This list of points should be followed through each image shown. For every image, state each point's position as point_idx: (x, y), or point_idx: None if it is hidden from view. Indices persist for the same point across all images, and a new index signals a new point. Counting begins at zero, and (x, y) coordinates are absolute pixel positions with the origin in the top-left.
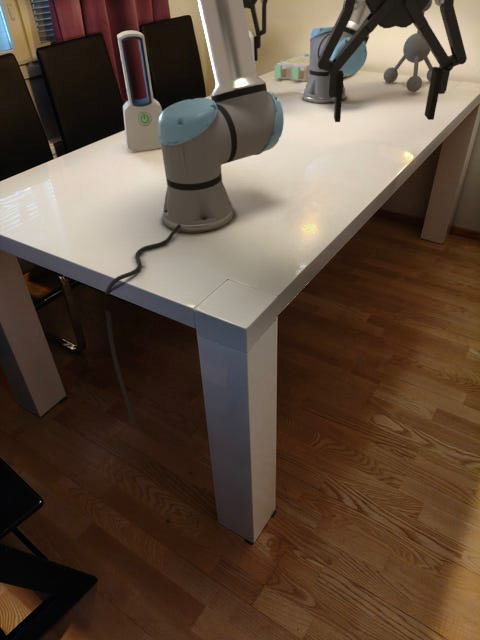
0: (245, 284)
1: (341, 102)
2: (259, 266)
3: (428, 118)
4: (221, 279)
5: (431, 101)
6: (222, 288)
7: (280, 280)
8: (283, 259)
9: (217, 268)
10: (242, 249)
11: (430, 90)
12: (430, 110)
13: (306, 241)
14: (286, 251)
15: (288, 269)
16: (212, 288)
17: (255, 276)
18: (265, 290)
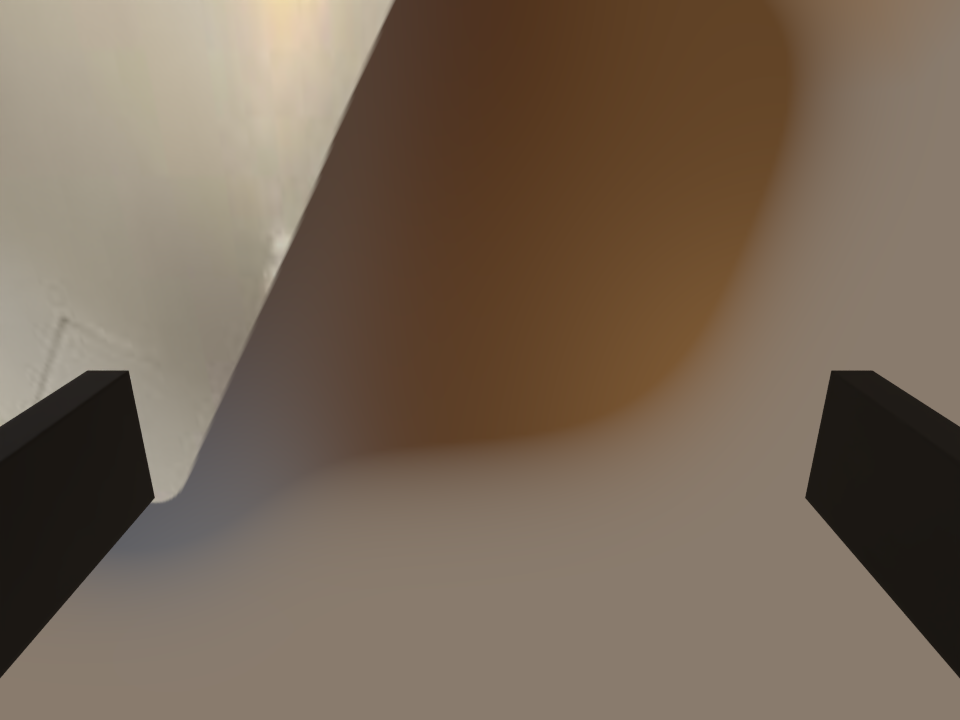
0: (124, 345)
1: (70, 594)
2: (142, 245)
3: (809, 500)
4: (44, 320)
5: (879, 578)
6: (63, 365)
7: (223, 323)
8: (213, 199)
9: (8, 258)
10: (51, 127)
11: (954, 534)
12: (843, 535)
13: (280, 62)
14: (215, 142)
15: (238, 262)
16: (34, 365)
17: (143, 303)
18: (189, 373)
